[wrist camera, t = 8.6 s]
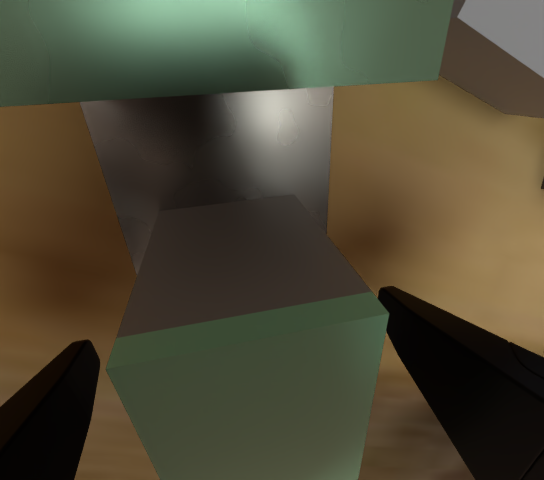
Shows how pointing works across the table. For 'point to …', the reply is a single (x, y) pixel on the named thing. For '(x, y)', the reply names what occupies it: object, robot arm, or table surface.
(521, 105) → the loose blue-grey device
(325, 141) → the rail
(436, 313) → the robot arm
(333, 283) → the block
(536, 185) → the table surface
